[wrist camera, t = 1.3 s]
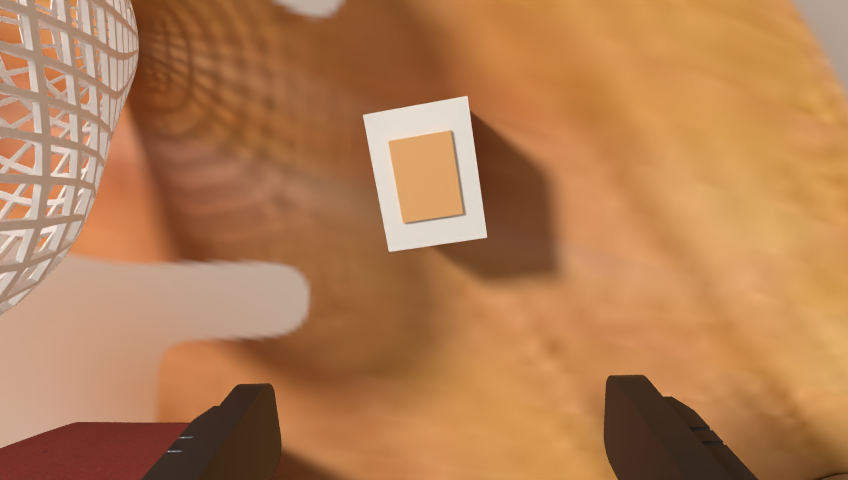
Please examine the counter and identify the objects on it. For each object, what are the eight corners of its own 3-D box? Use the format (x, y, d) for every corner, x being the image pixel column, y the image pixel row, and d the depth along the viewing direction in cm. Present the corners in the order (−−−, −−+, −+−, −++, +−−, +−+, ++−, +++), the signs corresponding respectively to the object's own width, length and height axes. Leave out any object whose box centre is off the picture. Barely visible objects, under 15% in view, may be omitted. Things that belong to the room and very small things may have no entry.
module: (385, 120, 28) (361, 114, 21) (464, 106, 27) (467, 95, 20) (405, 225, 29) (388, 252, 22) (480, 213, 28) (487, 238, 21)
